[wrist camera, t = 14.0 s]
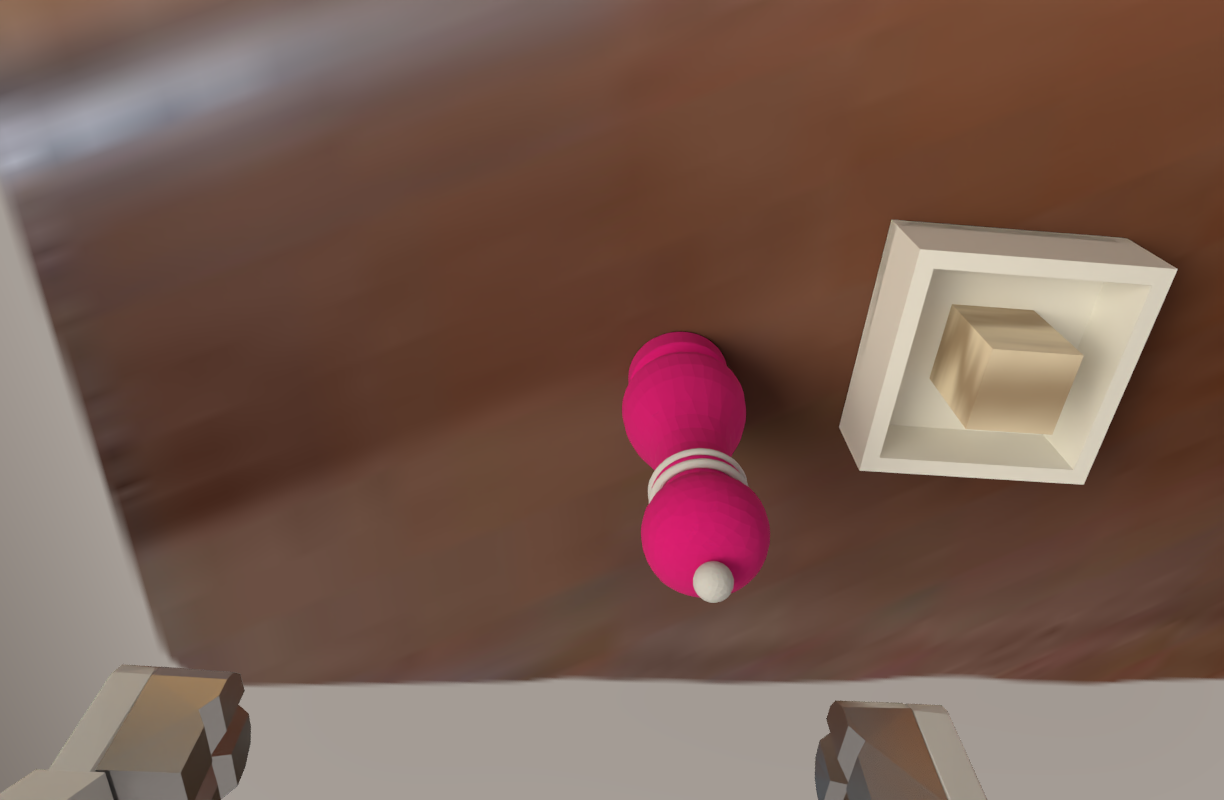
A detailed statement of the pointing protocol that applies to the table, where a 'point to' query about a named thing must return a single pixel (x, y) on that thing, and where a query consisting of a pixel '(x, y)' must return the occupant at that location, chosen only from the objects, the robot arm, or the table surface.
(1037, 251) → the serving bin
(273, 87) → the table surface
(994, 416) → the birch block
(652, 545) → the pepper mill
